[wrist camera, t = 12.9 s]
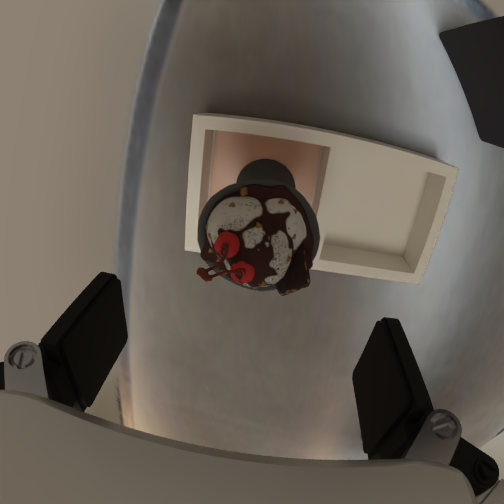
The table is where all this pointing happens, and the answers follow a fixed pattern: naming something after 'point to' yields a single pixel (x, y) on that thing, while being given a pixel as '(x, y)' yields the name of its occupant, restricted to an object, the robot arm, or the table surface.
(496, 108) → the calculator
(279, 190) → the sundae
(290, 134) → the carrier tray
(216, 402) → the table surface
